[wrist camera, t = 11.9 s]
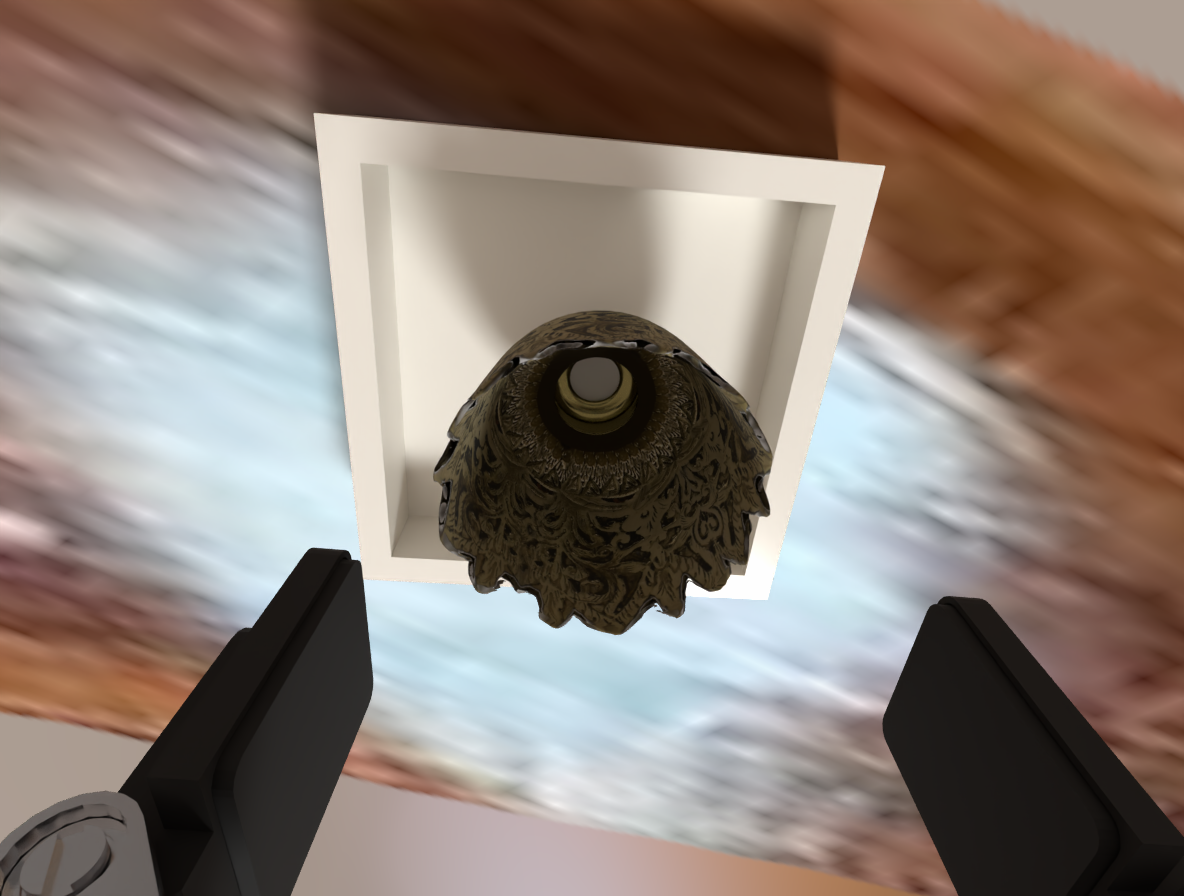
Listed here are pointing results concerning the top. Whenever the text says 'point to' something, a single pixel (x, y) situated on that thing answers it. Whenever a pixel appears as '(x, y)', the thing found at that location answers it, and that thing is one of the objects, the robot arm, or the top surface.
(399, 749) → the top surface
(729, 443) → the ornate bronze bell
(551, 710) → the top surface
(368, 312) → the tray
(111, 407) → the top surface
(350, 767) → the top surface
